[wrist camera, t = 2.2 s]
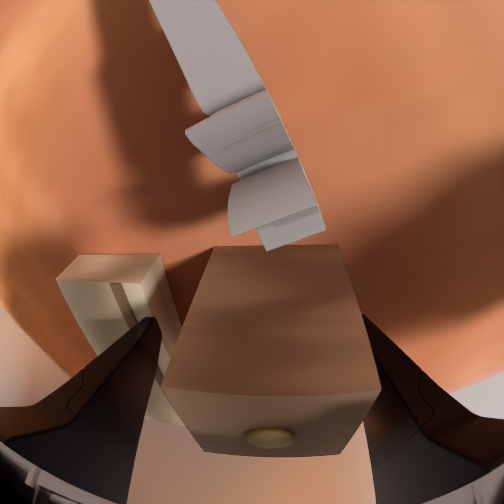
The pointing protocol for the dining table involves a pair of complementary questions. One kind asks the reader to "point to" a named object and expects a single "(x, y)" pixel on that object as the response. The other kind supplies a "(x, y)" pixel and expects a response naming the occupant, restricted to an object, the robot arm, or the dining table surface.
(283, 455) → the brown block with knob
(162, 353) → the board
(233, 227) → the caliper
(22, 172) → the dining table surface
